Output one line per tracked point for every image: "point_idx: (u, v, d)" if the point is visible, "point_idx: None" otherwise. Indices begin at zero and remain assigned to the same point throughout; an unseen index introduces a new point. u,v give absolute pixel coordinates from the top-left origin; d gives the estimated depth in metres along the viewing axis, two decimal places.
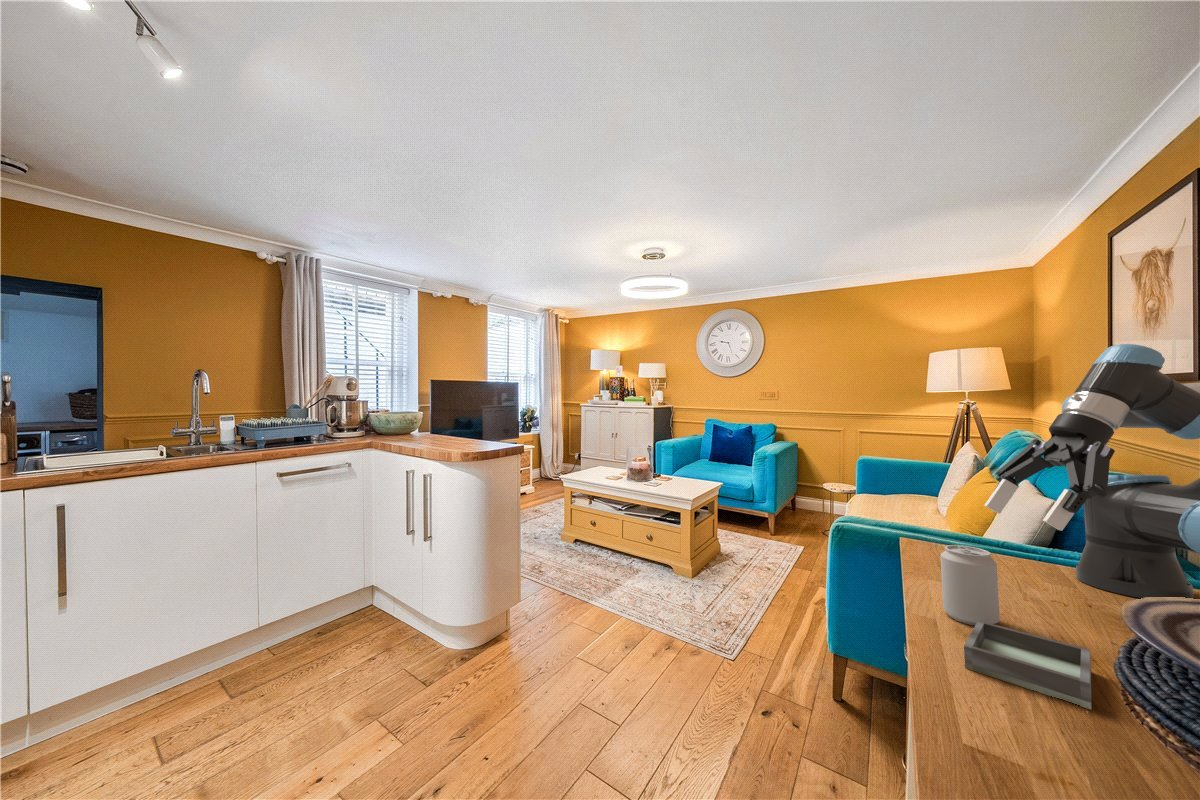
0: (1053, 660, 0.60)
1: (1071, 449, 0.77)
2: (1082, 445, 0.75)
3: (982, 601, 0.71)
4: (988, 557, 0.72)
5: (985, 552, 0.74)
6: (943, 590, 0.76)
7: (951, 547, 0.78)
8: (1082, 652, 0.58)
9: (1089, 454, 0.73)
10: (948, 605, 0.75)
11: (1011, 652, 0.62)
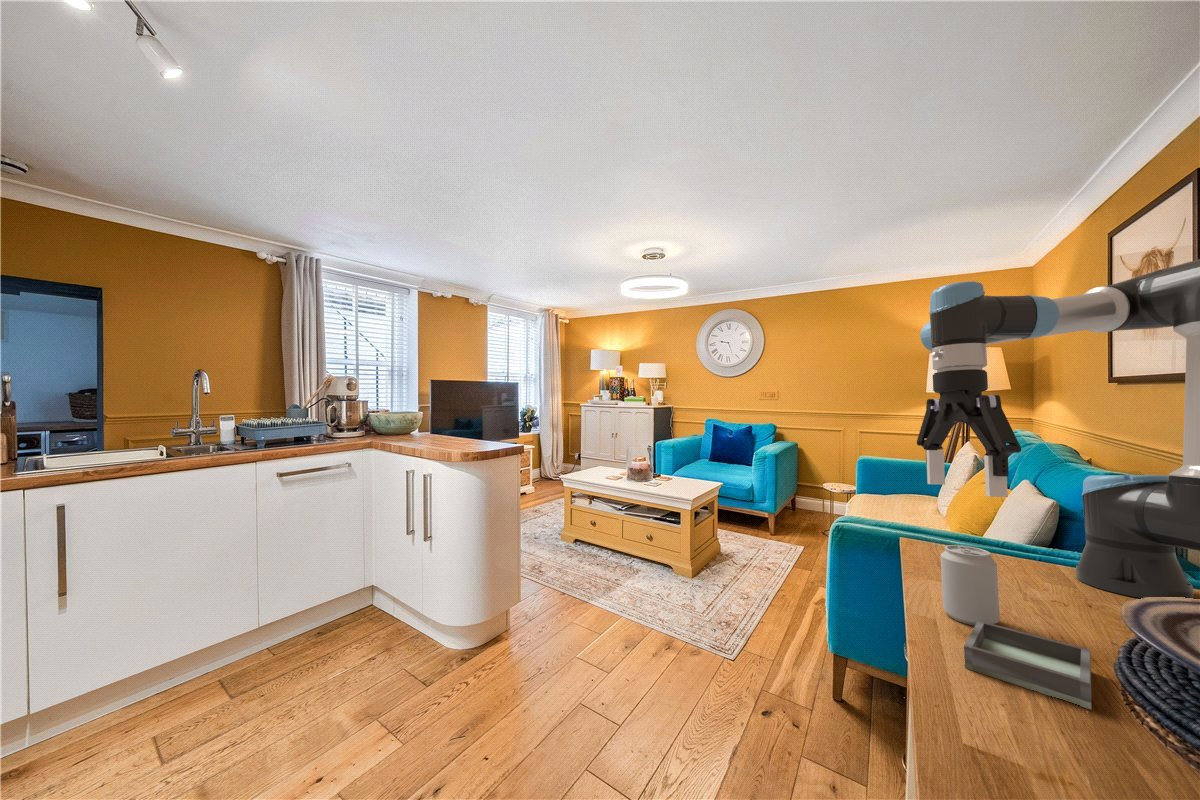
0: (1053, 660, 0.60)
1: (964, 407, 0.74)
2: (970, 401, 0.73)
3: (982, 602, 0.71)
4: (988, 557, 0.72)
5: (985, 552, 0.74)
6: (943, 590, 0.76)
7: (951, 547, 0.78)
8: (1082, 652, 0.58)
9: (982, 411, 0.70)
10: (948, 605, 0.75)
11: (1011, 652, 0.62)
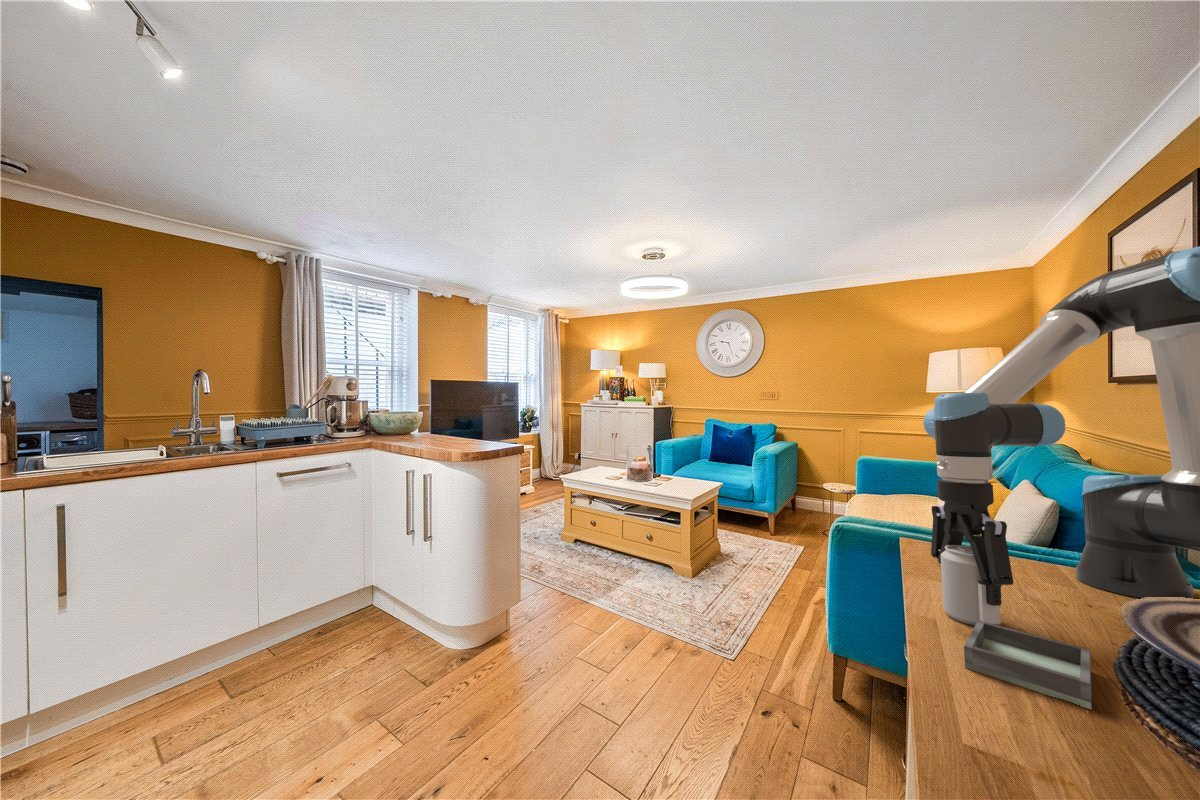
0: (1053, 660, 0.60)
1: (968, 519, 0.73)
2: (976, 518, 0.72)
3: None
4: None
5: None
6: (943, 590, 0.76)
7: (951, 547, 0.78)
8: (1082, 652, 0.58)
9: (985, 536, 0.70)
10: (948, 605, 0.75)
11: (1011, 652, 0.62)
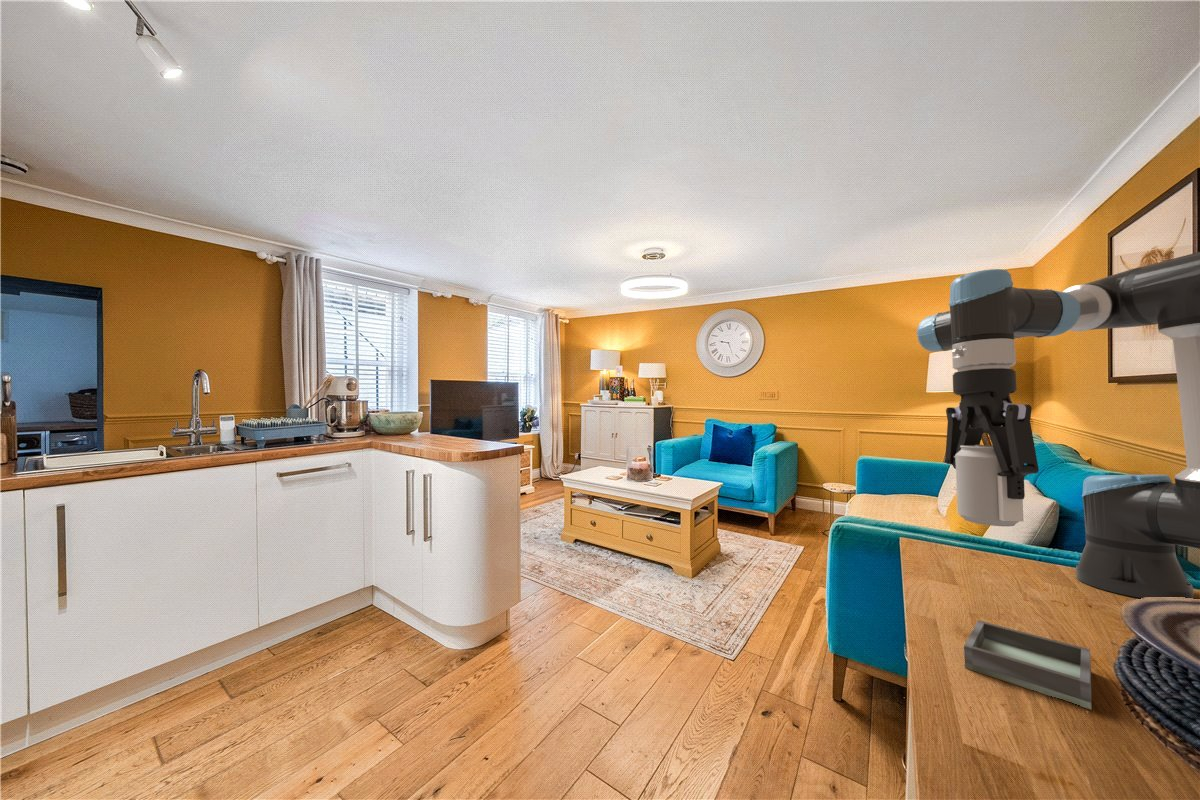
0: (1053, 660, 0.60)
1: (987, 409, 0.66)
2: (996, 405, 0.64)
3: None
4: None
5: None
6: (958, 492, 0.69)
7: None
8: (1082, 652, 0.58)
9: (1006, 422, 0.62)
10: (963, 507, 0.67)
11: (1011, 652, 0.62)
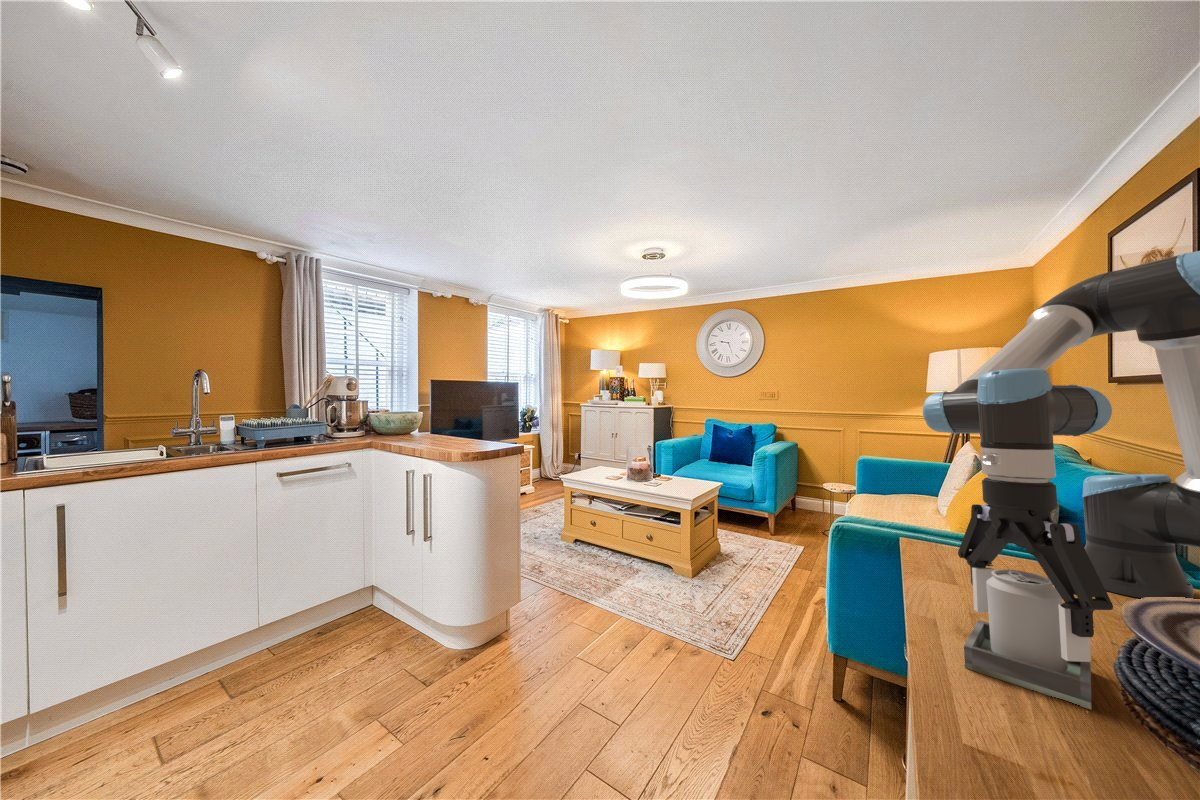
0: None
1: (1027, 530, 0.58)
2: (1037, 525, 0.56)
3: (1045, 644, 0.56)
4: (1050, 587, 0.57)
5: (1045, 579, 0.59)
6: (991, 627, 0.61)
7: (999, 572, 0.62)
8: None
9: (1055, 545, 0.54)
10: (998, 647, 0.59)
11: None
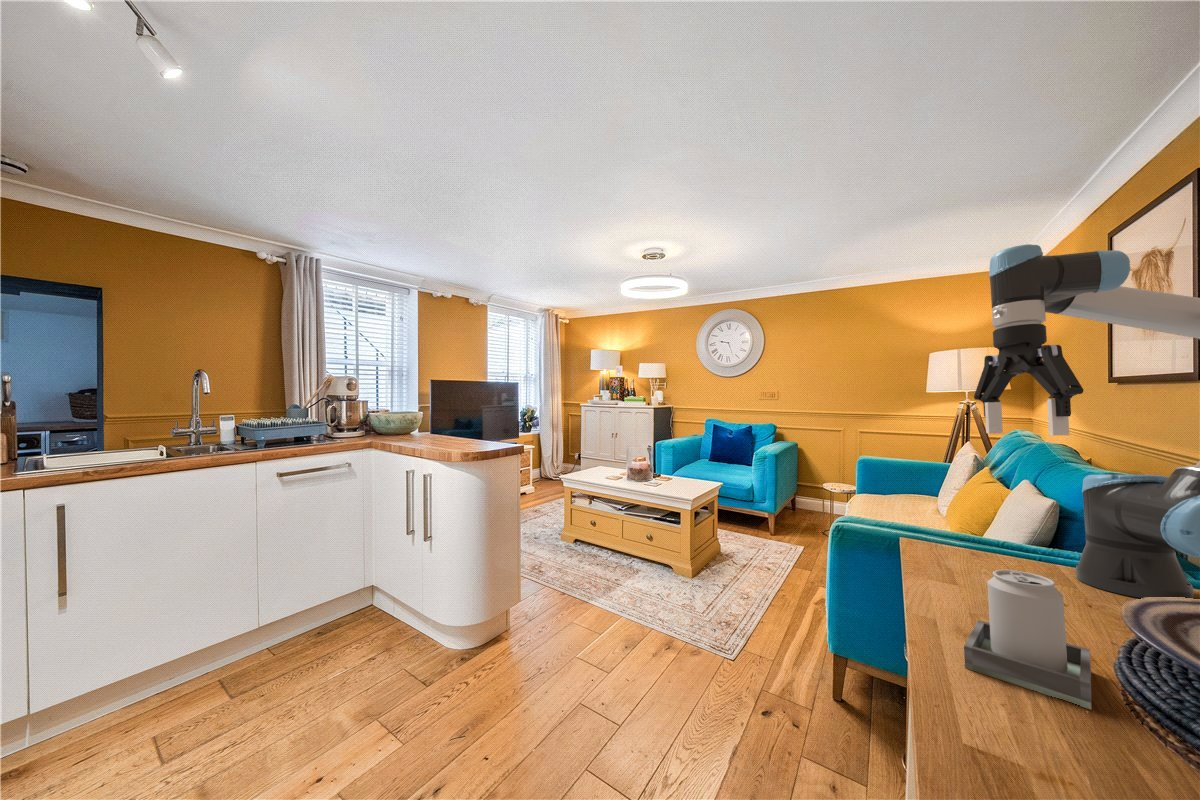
0: None
1: (1025, 358, 0.82)
2: (1032, 352, 0.80)
3: (1045, 645, 0.56)
4: (1052, 588, 0.57)
5: (1046, 580, 0.59)
6: (992, 627, 0.61)
7: (1001, 572, 0.62)
8: (1082, 652, 0.58)
9: (1044, 359, 0.78)
10: (998, 647, 0.59)
11: None
